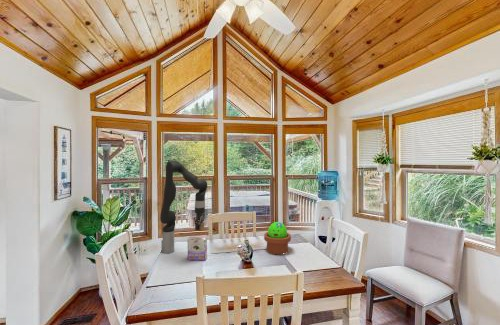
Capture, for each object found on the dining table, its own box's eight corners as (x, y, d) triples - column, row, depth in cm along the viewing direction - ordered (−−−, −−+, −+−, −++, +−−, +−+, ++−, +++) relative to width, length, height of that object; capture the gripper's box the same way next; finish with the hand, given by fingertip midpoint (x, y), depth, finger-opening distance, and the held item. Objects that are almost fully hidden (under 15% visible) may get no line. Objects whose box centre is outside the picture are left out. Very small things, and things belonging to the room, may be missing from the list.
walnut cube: (194, 230, 183) (195, 223, 183) (198, 228, 188) (198, 221, 188) (201, 230, 182) (201, 224, 182) (204, 228, 187) (204, 222, 187)
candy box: (207, 258, 191) (207, 237, 191) (205, 261, 185) (205, 239, 185) (190, 257, 192) (190, 236, 192) (187, 260, 186) (187, 238, 186)
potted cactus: (267, 245, 219) (267, 217, 219) (292, 247, 214) (292, 219, 213) (261, 254, 198) (261, 223, 198) (289, 257, 192) (289, 225, 192)
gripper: (199, 204, 192) (199, 225, 193) (190, 207, 178) (190, 231, 179) (208, 204, 190) (208, 226, 191) (200, 208, 176) (199, 232, 177)
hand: (199, 228), depth 185 cm, fingers closed on walnut cube, 5 cm apart
